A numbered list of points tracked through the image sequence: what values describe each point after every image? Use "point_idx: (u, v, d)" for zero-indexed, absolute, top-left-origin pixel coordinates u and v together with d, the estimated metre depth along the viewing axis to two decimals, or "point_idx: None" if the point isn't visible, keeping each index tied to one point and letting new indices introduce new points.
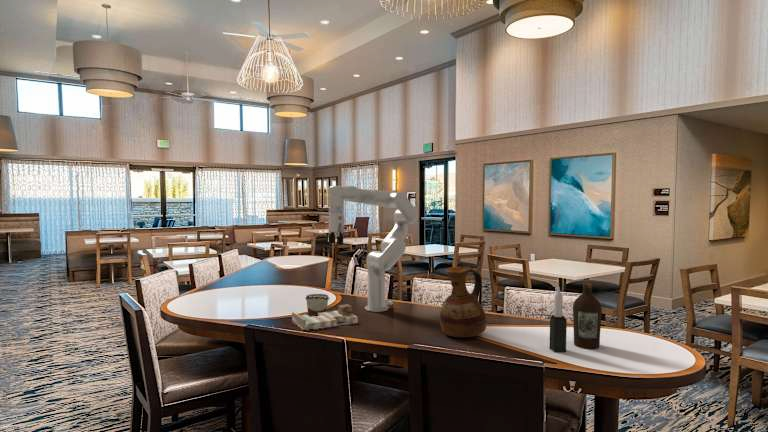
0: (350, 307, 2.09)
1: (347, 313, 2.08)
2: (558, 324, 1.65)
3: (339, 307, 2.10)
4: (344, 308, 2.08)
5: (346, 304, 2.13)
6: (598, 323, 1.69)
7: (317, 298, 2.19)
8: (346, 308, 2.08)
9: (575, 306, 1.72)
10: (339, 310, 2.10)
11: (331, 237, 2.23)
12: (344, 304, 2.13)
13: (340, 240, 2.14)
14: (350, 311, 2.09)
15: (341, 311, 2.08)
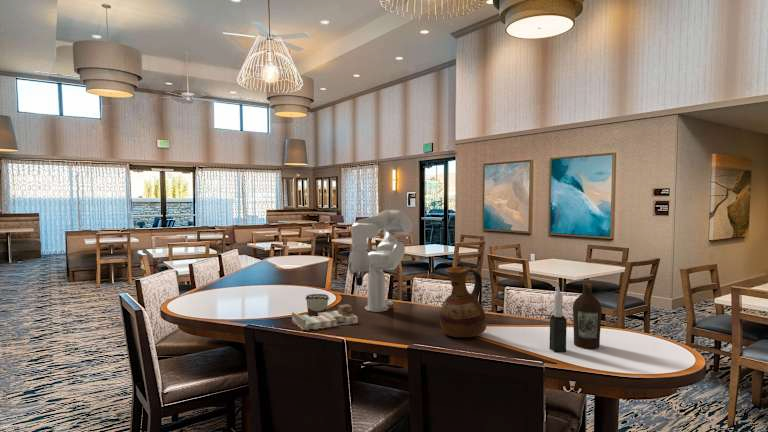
0: (350, 307, 2.09)
1: (347, 313, 2.08)
2: (558, 324, 1.65)
3: (339, 307, 2.10)
4: (344, 308, 2.08)
5: (346, 304, 2.13)
6: (598, 323, 1.69)
7: (317, 298, 2.19)
8: (346, 308, 2.08)
9: (575, 306, 1.72)
10: (339, 310, 2.10)
11: None
12: (344, 304, 2.13)
13: None
14: (350, 311, 2.09)
15: (341, 311, 2.08)
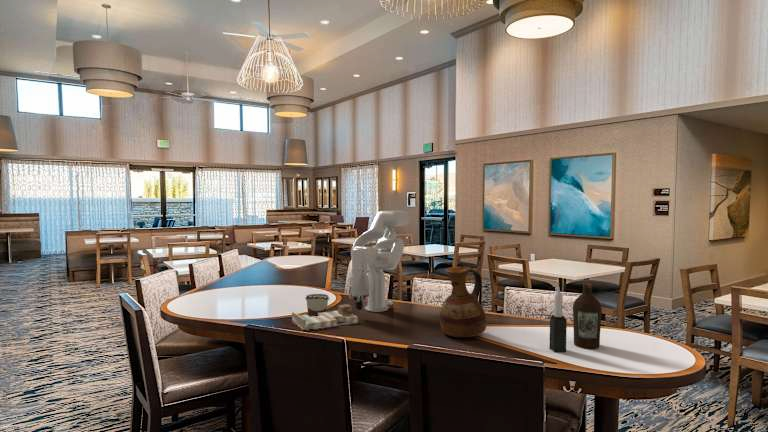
0: (350, 307, 2.09)
1: (347, 313, 2.08)
2: (558, 324, 1.65)
3: (339, 307, 2.10)
4: (344, 308, 2.08)
5: (346, 304, 2.13)
6: (598, 323, 1.69)
7: (317, 298, 2.19)
8: (346, 308, 2.08)
9: (575, 306, 1.72)
10: (339, 310, 2.10)
11: None
12: (344, 304, 2.13)
13: None
14: (350, 311, 2.09)
15: (341, 311, 2.08)
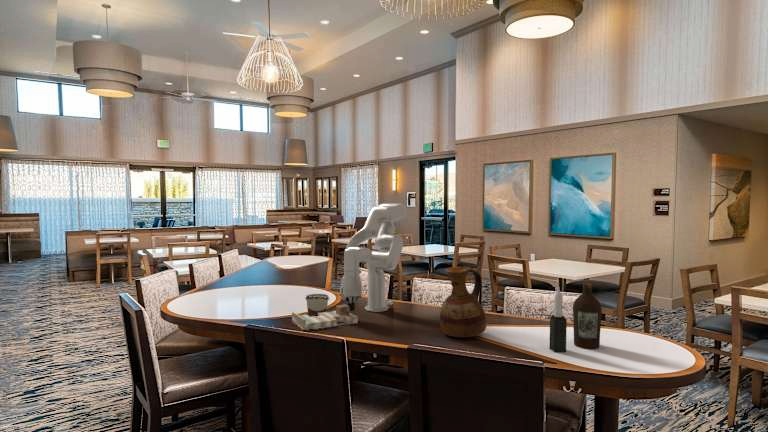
0: (348, 307, 2.09)
1: (345, 313, 2.08)
2: (558, 324, 1.65)
3: (337, 307, 2.09)
4: (342, 308, 2.07)
5: (344, 304, 2.13)
6: (598, 323, 1.69)
7: (317, 298, 2.19)
8: (344, 308, 2.08)
9: (575, 306, 1.72)
10: (337, 310, 2.09)
11: None
12: None
13: None
14: (348, 311, 2.09)
15: (339, 311, 2.07)
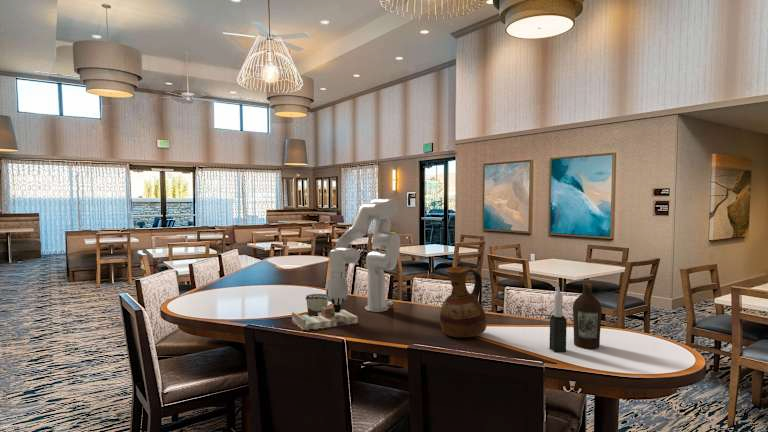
0: (333, 309, 2.05)
1: (330, 315, 2.04)
2: (558, 324, 1.65)
3: (322, 309, 2.06)
4: (327, 310, 2.04)
5: (329, 306, 2.09)
6: (598, 323, 1.69)
7: (317, 298, 2.19)
8: (329, 310, 2.04)
9: (575, 306, 1.72)
10: (322, 312, 2.06)
11: None
12: (327, 306, 2.09)
13: None
14: (333, 313, 2.05)
15: (324, 313, 2.04)
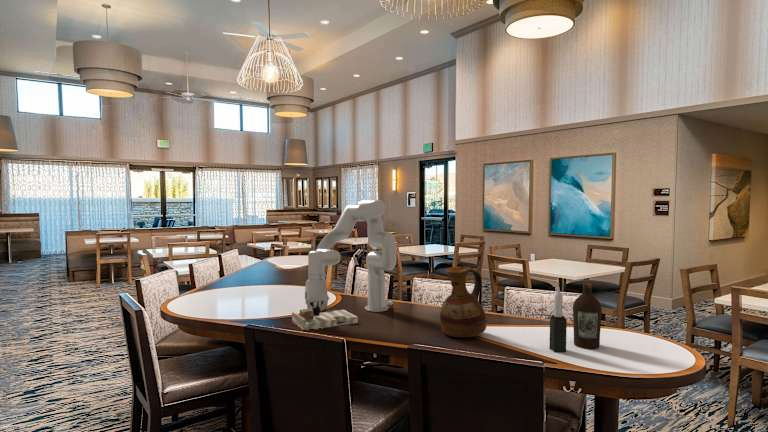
0: (312, 312, 2.00)
1: (308, 318, 1.99)
2: (558, 324, 1.65)
3: (300, 312, 2.01)
4: (305, 313, 1.98)
5: None
6: (598, 323, 1.69)
7: None
8: (307, 313, 1.99)
9: (575, 306, 1.72)
10: (300, 315, 2.01)
11: None
12: None
13: None
14: (312, 316, 2.00)
15: (302, 316, 1.99)
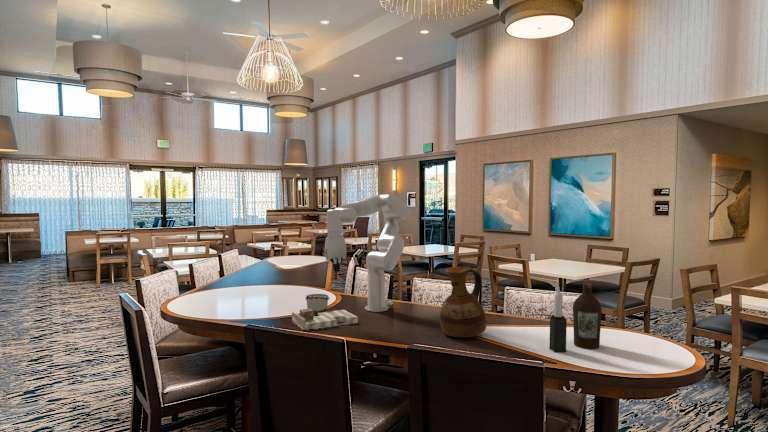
0: (312, 312, 2.00)
1: (308, 318, 1.99)
2: (558, 324, 1.65)
3: (300, 312, 2.01)
4: (305, 313, 1.98)
5: None
6: (598, 323, 1.69)
7: (317, 298, 2.19)
8: (307, 313, 1.99)
9: (575, 306, 1.72)
10: (300, 315, 2.01)
11: None
12: None
13: None
14: (312, 316, 2.00)
15: (302, 316, 1.99)
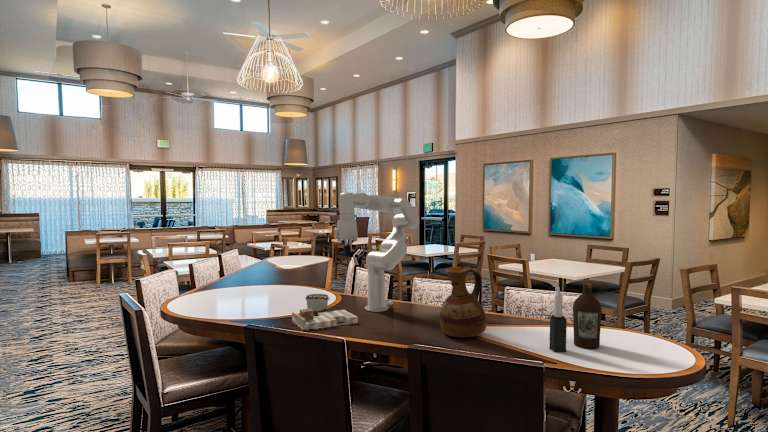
0: (312, 312, 2.00)
1: (308, 318, 1.99)
2: (558, 324, 1.65)
3: (300, 312, 2.01)
4: (305, 313, 1.98)
5: None
6: (598, 323, 1.69)
7: (317, 298, 2.19)
8: (307, 313, 1.99)
9: (575, 306, 1.72)
10: (300, 315, 2.01)
11: None
12: None
13: None
14: (312, 316, 2.00)
15: (302, 316, 1.99)
